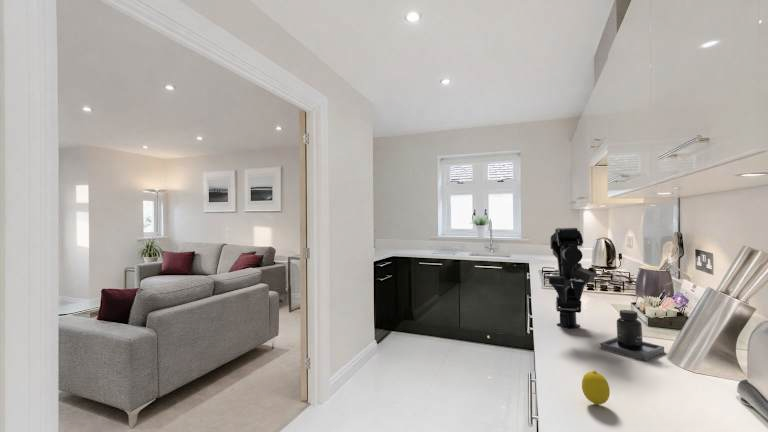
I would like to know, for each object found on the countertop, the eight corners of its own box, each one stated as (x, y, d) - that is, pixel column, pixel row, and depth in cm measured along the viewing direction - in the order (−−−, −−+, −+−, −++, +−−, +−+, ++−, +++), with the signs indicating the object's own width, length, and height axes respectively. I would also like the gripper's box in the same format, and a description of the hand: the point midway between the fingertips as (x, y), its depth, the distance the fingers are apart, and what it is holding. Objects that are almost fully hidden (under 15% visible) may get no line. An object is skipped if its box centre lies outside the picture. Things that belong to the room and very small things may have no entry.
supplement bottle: (645, 352, 105) (643, 315, 106) (619, 349, 109) (617, 313, 109) (640, 345, 111) (638, 309, 112) (616, 342, 115) (614, 308, 115)
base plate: (620, 340, 119) (619, 335, 119) (664, 352, 107) (664, 346, 107) (600, 348, 112) (599, 343, 112) (645, 361, 101) (644, 355, 101)
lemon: (599, 398, 81) (597, 365, 81) (616, 411, 75) (614, 375, 75) (577, 399, 80) (575, 366, 81) (592, 412, 75) (590, 376, 75)
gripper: (576, 264, 115) (578, 309, 115) (605, 260, 124) (607, 301, 124) (546, 261, 125) (549, 303, 124) (575, 258, 134) (577, 296, 134)
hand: (571, 301), depth 126 cm, fingers open, 9 cm apart
